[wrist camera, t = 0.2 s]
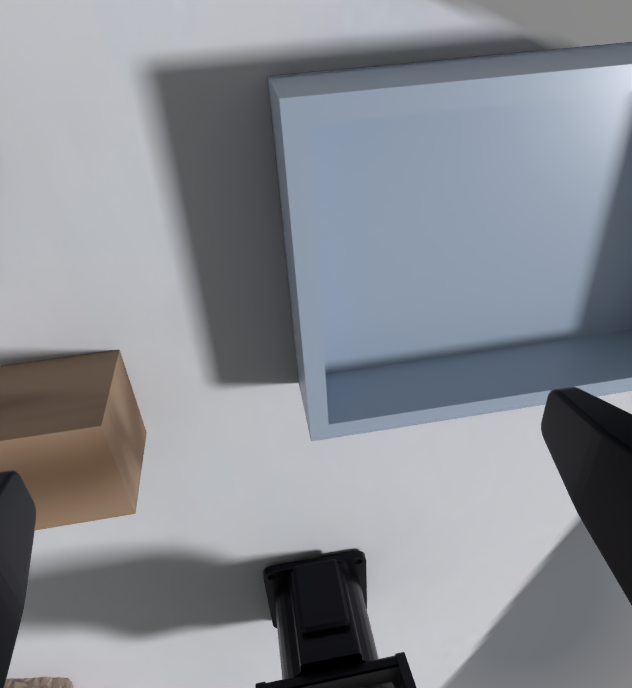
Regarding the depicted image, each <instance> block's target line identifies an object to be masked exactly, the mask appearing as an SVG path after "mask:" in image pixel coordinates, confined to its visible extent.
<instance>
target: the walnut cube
mask: <svg viewBox="0 0 632 688" xmlns="http://www.w3.org/2000/svg"><path fill="white" fill-rule="evenodd" d="M145 440H146V430H145V427H144V424H143V421H142V417H141V414H140V411H139V408H138V405H137V402H136V399H135V396H134V393H133V390H132V387H131V384H130V381H129V378H128V375H127V372H126V368H125V365H124V362H123V359H122V356H121V353H120V350H115V351H108V352H101V353H93V354H86V355H79V356H71V357H64V358H57V359H50V360H42V361H35V362H28V363H20V364H13V365H6V366H1V367H0V471H6V470H15V471H17V472H18V473H19V474H20V476H21V478H22V479H23V481H24V483H25V485H26V487H27V489H28V491H29V493H30V495H31V497H32V499H33V501H34V503H35V506H36V523H35V530H40V529H46V528H52V527H58V526H64V525H70V524H76V523H82V522H88V521H94V520H100V519H106V518H112V517H118V516H124V515H130V514H135V513H136V505H137V498H138V491H139V484H140V476H141V469H142V462H143V454H144V447H145Z"/></svg>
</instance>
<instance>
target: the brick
mask: <svg viewBox="0 0 632 688" xmlns="http://www.w3.org/2000/svg"><path fill="white" fill-rule="evenodd" d="M4 688H73V685H72V682H71V681H70V680H69V679H68V678H59V677H58V678H51V677H40V678H26V679H12V678H11V679H6V681H5V685H4Z"/></svg>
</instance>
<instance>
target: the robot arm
mask: <svg viewBox="0 0 632 688" xmlns="http://www.w3.org/2000/svg"><path fill="white" fill-rule="evenodd" d="M541 430H542V435H543V438H544V440H545V443H546V445H547V447H548V449H549V451H550V454H551V456H552V458H553V460H554V462H555V465H556V467H557V469H558V471H559V474H560V476H561V478H562V480H563V482H564V485H565V487H566V489H567V491H568V494H569V496H570V498H571V500H572V502H573V504H574V506H575V508H576V510H577V512H578V514H579V516H580V518H581V520H582V521H583V523H584V525H585V527H586V528H587V530H588V532H589V533H590V535H591V537H592V539H593V540H594V542H595V544H596V545H597V547H598V549H599V550H600V552H601V554H602V556H603V557H604V559H605V561H606V562H607V564H608V566H609V568H610V569H611V571H612V572H613V574H614V576H615V578H616V579H617V581H618V583H619V585H620V586H621V588H622V590H623V591H624V593H625V595H626V596H627V598H628V600H629V602H630V603H631V605H632V414H630V413H628V412H626V411H624V410H622V409H620V408H618V407H616V406H614V405H612V404H610V403H608V402H606V401H603V400H601V399H599V398H597V397H595V396H593V395H591V394H589V393H587V392H585V391H583V390H581V389H579V388H577V387H564V388H557V389H553V390H551V391H550V393H549V394H548V397H547V401H546V406H545V410H544V414H543V418H542V423H541ZM35 523H36V506H35V503H34V501H33V499H32V497H31V495H30V493H29V491H28V489H27V487H26V485H25V483H24V481H23V479H22V478H21V476H20V474H19V473H18V472H17V471H15V470H6V471H0V688H4V685H5V681H6V677H7V674H8V670H9V666H10V662H11V658H12V654H13V650H14V646H15V642H16V638H17V634H18V630H19V626H20V622H21V617H22V613H23V609H24V603H25V597H26V590H27V583H28V575H29V568H30V560H31V553H32V545H33V538H34V531H35ZM263 576H264V583H265V587H266V592H267V597H268V602H269V607H270V612H271V617H272V622H273V626H274V627H275V628H277V629H278V639H279V649H280V659H281V669H282V679H283V680H279V681H274V682H269V683H265V682H261V683H256V688H416V685H415V682H414V679H413V676H412V673H411V670H410V668H409V665H408V662H407V659H406V656H405V653H404V652H401V653H397V654H395V656H391V657H386V658H382V659H378V655H377V651H376V647H375V643H374V639H373V634H372V630H371V626H370V622H369V618H368V614H367V610H366V609H367V585H366V558H365V554H364V553H363V552H361V551H357V552H351V553H345V554H340V555H334V556H329V557H323V558H317V559H312V560H306V561H300V562H295V563H289V564H284V565H278V566H272V567H268V568H266V569H265V570H264V571H263Z"/></svg>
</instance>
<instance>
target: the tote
mask: <svg viewBox="0 0 632 688" xmlns="http://www.w3.org/2000/svg"><path fill="white" fill-rule="evenodd" d="M268 86H269V95H270V105H271V115H272V125H273V134H274V144H275V154H276V164H277V174H278V183H279V193H280V203H281V213H282V223H283V232H284V242H285V252H286V262H287V272H288V281H289V291H290V301H291V311H292V321H293V330H294V340H295V350H296V360H297V369H298V379H299V386H300V391H301V396H302V400H303V405H304V410H305V415H306V419H307V424H308V429H309V434H310V438H311V441H316V440H322V439H329V438H335V437H341V436H348V435H354V434H360V433H367V432H373V431H380V430H386V429H392V428H399V427H405V426H411V425H418V424H424V423H430V422H437V421H443V420H449V419H456V418H462V417H468V416H475V415H481V414H487V413H494V412H500V411H507V410H513V409H519V408H526V407H532V406H538V405H545V404H546V401H547V397H548V394H549V393H550V391H551V390H553V389H557V388H564V387H577V388H579V389H581V390H583V391H585V392H587V393H589V394H591V395H593V396H602V395H608V394H614V393H621V392H627V391H632V42H627V43H616V44H606V45H595V46H584V47H574V48H563V49H552V50H542V51H531V52H521V53H510V54H499V55H489V56H478V57H468V58H457V59H446V60H436V61H425V62H415V63H404V64H393V65H383V66H372V67H362V68H351V69H340V70H330V71H319V72H309V73H298V74H287V75H277V76H268Z"/></svg>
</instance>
